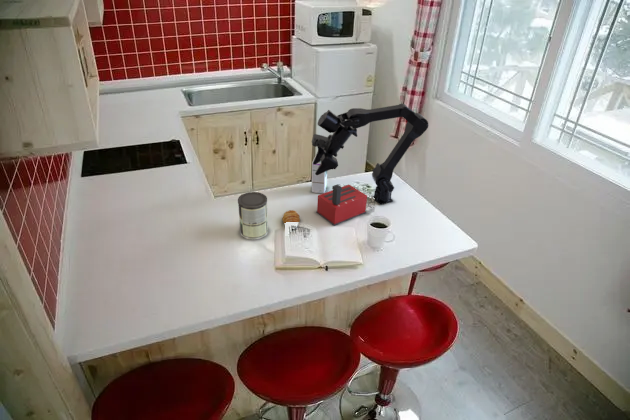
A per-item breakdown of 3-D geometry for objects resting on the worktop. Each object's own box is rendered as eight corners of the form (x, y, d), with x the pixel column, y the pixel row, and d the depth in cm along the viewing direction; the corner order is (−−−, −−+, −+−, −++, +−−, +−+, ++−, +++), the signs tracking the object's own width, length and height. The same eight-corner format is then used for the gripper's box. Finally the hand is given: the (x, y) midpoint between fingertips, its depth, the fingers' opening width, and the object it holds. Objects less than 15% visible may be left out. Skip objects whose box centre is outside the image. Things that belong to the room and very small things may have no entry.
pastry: (301, 230, 163) (301, 222, 161) (283, 231, 163) (283, 223, 161) (299, 217, 171) (299, 208, 169) (281, 218, 171) (281, 209, 168)
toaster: (347, 200, 183) (349, 183, 179) (366, 213, 176) (368, 195, 171) (316, 212, 175) (317, 195, 170) (334, 225, 167) (335, 207, 163)
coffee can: (234, 231, 162) (231, 198, 154) (256, 220, 168) (255, 188, 161) (251, 243, 156) (249, 210, 148) (273, 232, 162) (273, 199, 155)
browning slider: (336, 200, 167) (337, 184, 163) (340, 203, 165) (342, 187, 161) (331, 202, 166) (332, 186, 162) (335, 205, 164) (336, 189, 160)
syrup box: (324, 193, 187) (325, 163, 180) (310, 192, 188) (311, 161, 180) (326, 187, 192) (328, 157, 184) (313, 185, 193) (314, 155, 185)
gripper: (319, 118, 172) (296, 148, 178) (324, 137, 156) (299, 170, 162) (341, 133, 176) (318, 162, 182) (349, 153, 161) (323, 184, 167)
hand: (314, 169), depth 173 cm, fingers open, 9 cm apart
